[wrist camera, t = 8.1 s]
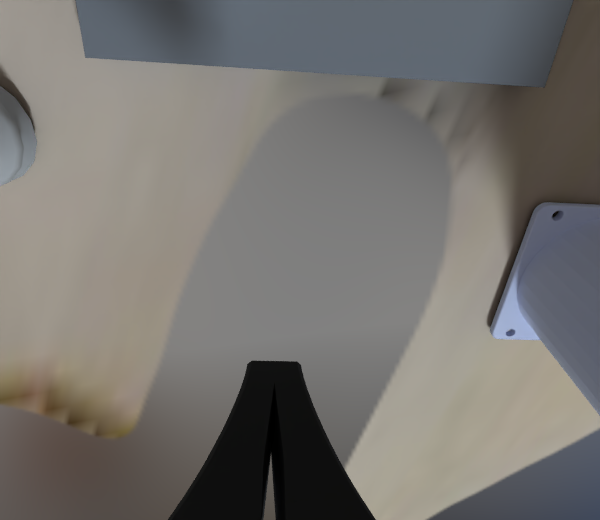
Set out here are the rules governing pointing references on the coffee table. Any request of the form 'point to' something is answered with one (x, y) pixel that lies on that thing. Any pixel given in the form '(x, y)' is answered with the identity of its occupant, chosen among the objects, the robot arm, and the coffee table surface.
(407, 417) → the coffee table surface
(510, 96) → the coffee table surface
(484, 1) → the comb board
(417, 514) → the coffee table surface
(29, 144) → the rook chess piece
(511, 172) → the coffee table surface
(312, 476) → the robot arm
